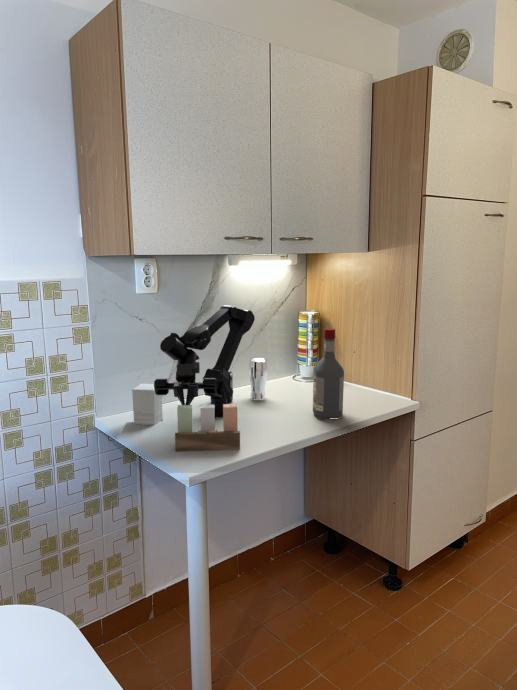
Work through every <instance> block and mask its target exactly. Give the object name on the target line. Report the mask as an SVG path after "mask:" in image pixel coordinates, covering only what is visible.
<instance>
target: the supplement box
mask: <svg viewBox="0 0 517 690" xmlns="http://www.w3.org/2000/svg"><path fill="white" fill-rule="evenodd" d="M131 391H132V407H133V409H132V410H133V412H132V413H133V424H135V425H143V426H149V425H150V426H155V425H157V424H158V423H160V422H163V420H164V418H163V415H164V414H163V395H156V394H155V389H154V383H140V384H138V385H136V386H135V387H133V388H132V389H131Z"/></svg>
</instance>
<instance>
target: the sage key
mask: <svg viewBox="0 0 517 690" xmlns="http://www.w3.org/2000/svg"><path fill="white" fill-rule="evenodd" d="M176 410H177V411H176V412H177V413H176V414H177V415H176V416H177V432H193V405H192V404H190V405H181V404H179V405H177V409H176Z"/></svg>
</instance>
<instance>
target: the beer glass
mask: <svg viewBox="0 0 517 690" xmlns="http://www.w3.org/2000/svg"><path fill="white" fill-rule="evenodd" d="M248 376H249V383H250V391H251V392H250V397H249V399H250V400H251V401H253V402H254V401H256V402H262V401H266V399H267V396H266V385H267V379H268V360H267V359H266V358H263V357H254V358H250V359H249V363H248Z"/></svg>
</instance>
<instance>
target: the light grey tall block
mask: <svg viewBox="0 0 517 690" xmlns="http://www.w3.org/2000/svg"><path fill="white" fill-rule="evenodd" d="M199 412H200V431H205V430H207V432H209V430H216V428H215V427H216V426H215V425H216V424H215V422H216V419H215V417H216V416H215V405H211V404H200V410H199Z"/></svg>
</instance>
